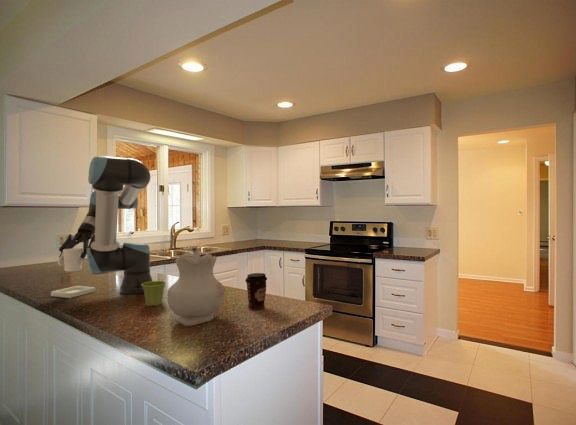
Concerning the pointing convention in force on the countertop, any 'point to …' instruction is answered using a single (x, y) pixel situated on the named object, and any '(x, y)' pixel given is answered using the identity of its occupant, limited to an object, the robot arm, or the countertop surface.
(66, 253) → the white cup
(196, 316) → the ceramic pitcher
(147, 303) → the plant pot
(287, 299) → the countertop surface
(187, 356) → the countertop surface
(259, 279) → the coffee cup
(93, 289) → the coaster tray
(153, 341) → the countertop surface
